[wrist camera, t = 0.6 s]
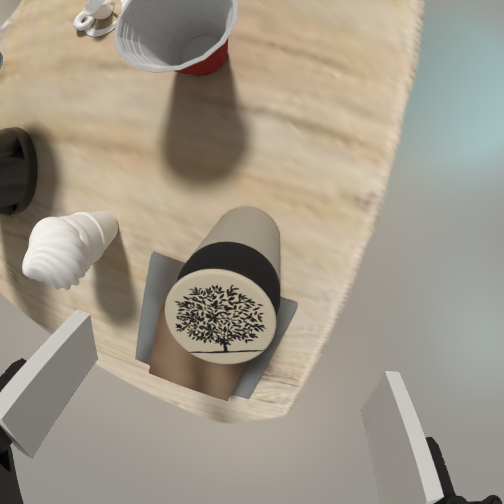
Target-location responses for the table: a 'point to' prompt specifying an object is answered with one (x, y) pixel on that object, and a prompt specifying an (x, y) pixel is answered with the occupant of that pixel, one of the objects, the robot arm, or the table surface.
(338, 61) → the table surface
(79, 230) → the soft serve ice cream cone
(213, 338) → the travel mug
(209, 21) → the plastic cup
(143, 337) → the base
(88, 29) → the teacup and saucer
